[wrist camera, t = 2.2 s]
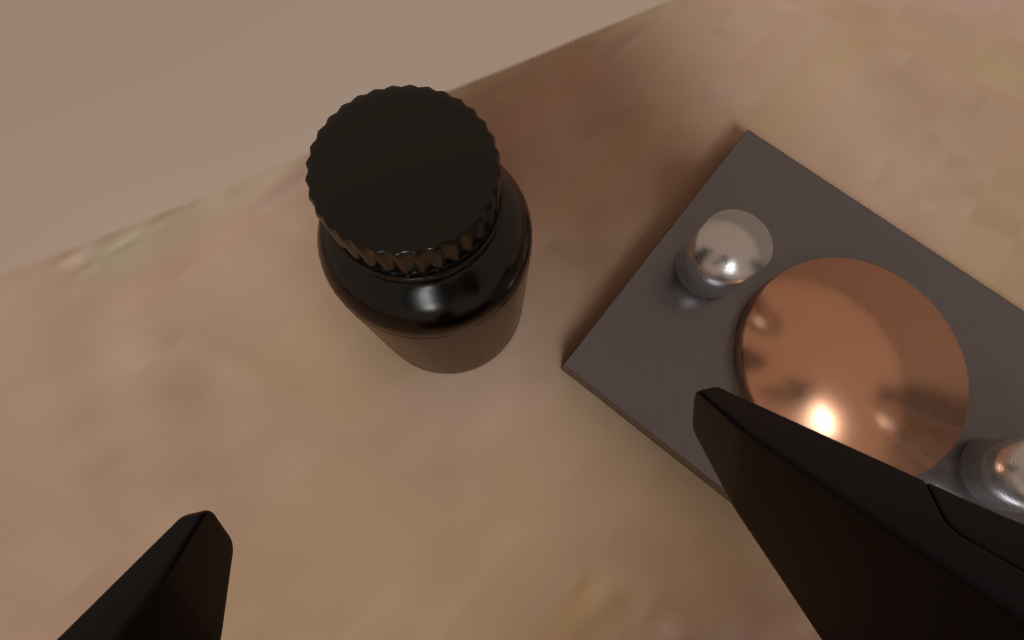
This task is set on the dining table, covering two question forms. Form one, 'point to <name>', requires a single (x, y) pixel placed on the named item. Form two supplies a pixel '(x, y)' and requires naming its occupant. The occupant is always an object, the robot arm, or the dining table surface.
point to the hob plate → (816, 333)
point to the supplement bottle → (421, 226)
